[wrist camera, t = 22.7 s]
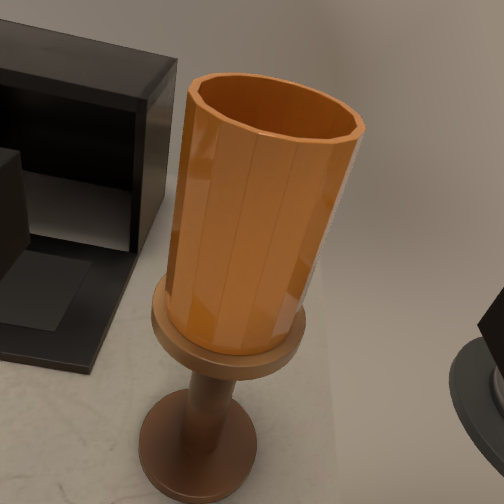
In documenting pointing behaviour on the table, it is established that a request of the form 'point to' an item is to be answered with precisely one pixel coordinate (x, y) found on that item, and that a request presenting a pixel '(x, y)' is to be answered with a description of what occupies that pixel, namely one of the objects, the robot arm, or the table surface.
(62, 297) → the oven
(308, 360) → the table surface
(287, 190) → the cup
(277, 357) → the copper pedestal stand
